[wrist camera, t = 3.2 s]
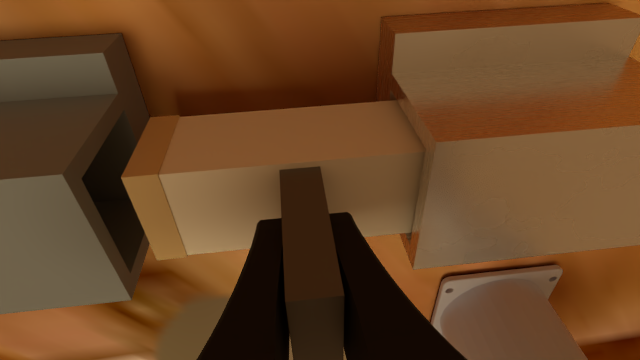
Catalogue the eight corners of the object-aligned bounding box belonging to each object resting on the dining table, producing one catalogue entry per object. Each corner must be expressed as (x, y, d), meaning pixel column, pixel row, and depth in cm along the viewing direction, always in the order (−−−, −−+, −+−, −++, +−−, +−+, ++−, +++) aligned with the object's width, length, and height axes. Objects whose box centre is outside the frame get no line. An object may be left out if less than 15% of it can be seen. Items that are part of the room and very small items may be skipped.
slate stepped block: (121, 33, 14) (34, 124, 9) (178, 201, 19) (144, 323, 14) (-26, 42, 14) (-207, 142, 8) (71, 211, 18) (-5, 340, 13)
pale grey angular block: (532, 87, 14) (733, 245, 8) (507, 163, 17) (651, 333, 10) (150, 117, 14) (51, 320, 7) (176, 193, 16) (116, 401, 9)
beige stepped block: (607, 2, 15) (785, 67, 10) (541, 167, 20) (637, 268, 15) (381, 17, 15) (445, 93, 9) (370, 183, 19) (408, 293, 14)
